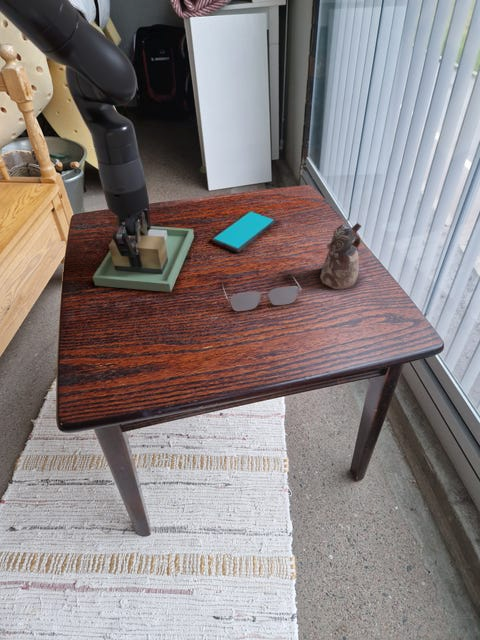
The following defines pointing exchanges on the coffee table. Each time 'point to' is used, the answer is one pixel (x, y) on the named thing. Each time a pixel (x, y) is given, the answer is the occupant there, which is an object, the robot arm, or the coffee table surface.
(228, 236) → the smartphone
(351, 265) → the figurine
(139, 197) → the robot arm
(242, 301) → the eyeglasses
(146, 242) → the eraser
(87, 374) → the coffee table surface
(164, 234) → the chalk lump
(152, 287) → the tray
